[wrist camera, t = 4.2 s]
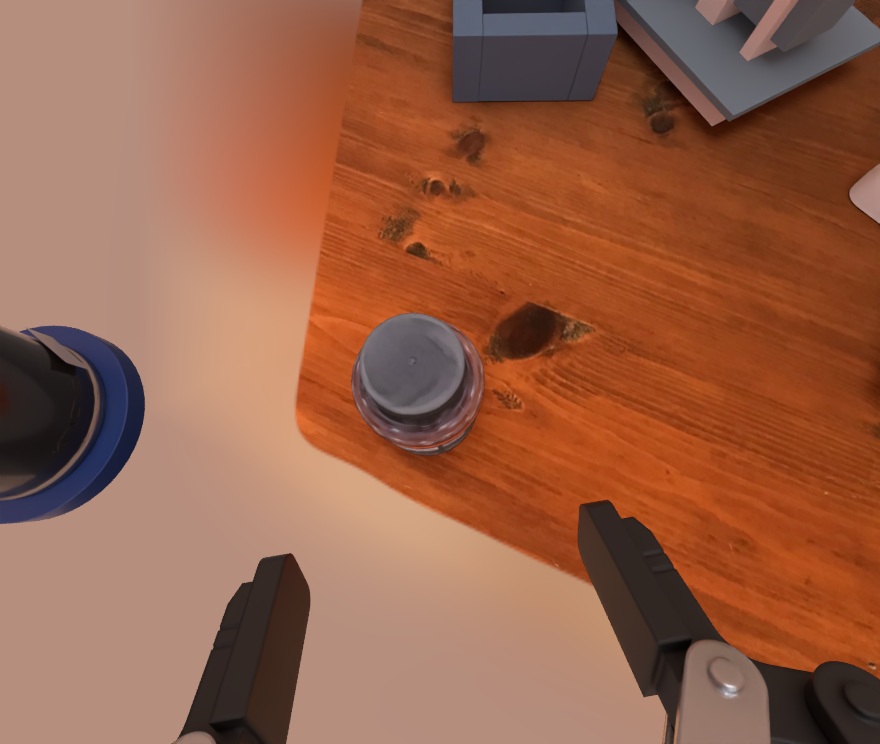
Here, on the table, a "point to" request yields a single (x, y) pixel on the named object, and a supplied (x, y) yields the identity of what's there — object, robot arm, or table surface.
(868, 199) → the slotted arch bracket
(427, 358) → the supplement bottle
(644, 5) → the desk lamp
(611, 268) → the table surface
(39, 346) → the robot arm
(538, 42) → the stand
